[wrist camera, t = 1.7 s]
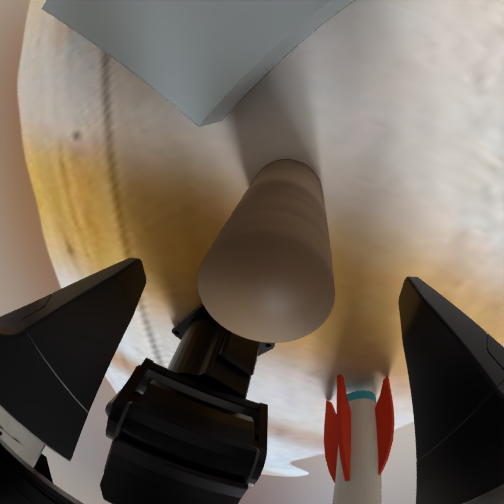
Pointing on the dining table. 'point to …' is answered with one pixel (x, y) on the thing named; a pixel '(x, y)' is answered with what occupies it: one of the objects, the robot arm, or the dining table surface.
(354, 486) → the toy rocket
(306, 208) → the walnut peg
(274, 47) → the socket block
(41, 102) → the dining table surface
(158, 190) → the dining table surface
